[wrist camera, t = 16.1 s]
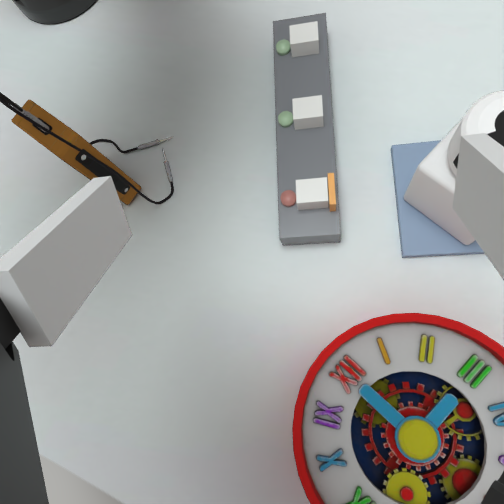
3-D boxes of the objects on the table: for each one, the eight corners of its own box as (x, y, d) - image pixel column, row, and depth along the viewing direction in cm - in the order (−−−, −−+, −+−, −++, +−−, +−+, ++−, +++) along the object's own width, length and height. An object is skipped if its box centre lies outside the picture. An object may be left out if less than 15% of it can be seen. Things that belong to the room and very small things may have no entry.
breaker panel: (276, 40, 49) (270, 7, 44) (326, 32, 48) (325, -3, 43) (282, 245, 43) (276, 232, 38) (339, 241, 42) (340, 228, 37)
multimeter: (203, 156, 47) (115, 27, 28) (151, 223, 46) (25, 137, 27) (118, 101, 51) (-8, -44, 32) (70, 162, 51) (-89, 50, 32)
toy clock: (446, 661, 28) (243, 439, 34) (427, 608, 33) (256, 426, 39) (627, 443, 29) (398, 264, 35) (579, 427, 34) (388, 276, 40)
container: (519, 190, 39) (608, 115, 26) (466, 247, 38) (530, 199, 26) (451, 144, 41) (503, 56, 28) (401, 199, 41) (431, 133, 28)
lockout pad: (390, 148, 43) (392, 145, 42) (513, 136, 41) (517, 132, 40) (402, 257, 40) (403, 255, 39) (534, 250, 38) (538, 248, 37)
